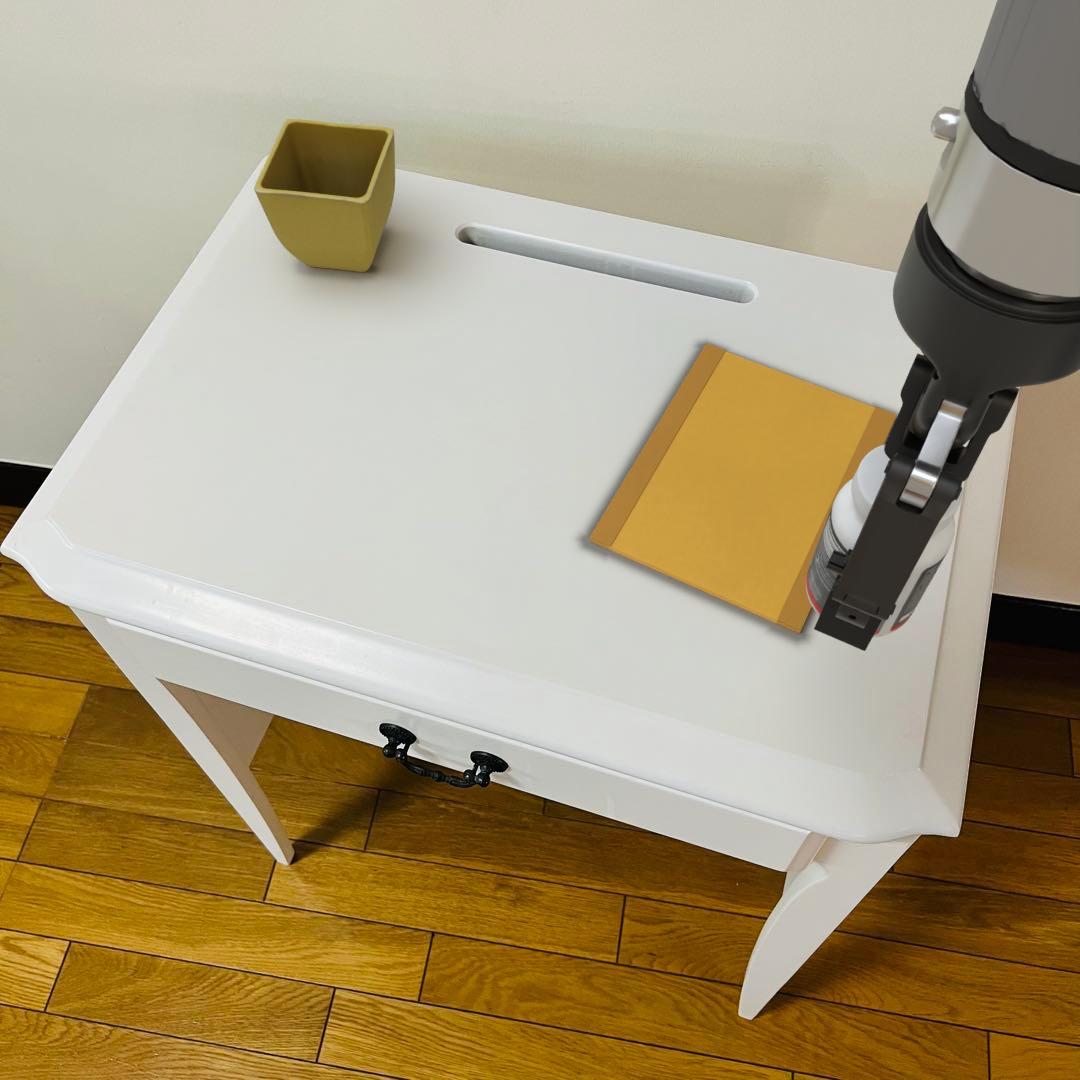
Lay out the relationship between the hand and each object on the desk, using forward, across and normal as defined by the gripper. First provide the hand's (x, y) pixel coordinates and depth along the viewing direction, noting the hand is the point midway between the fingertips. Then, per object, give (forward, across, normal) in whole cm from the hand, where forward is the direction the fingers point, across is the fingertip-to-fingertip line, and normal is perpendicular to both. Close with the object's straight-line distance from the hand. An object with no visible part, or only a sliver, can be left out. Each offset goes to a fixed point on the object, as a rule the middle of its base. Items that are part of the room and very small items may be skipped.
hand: (862, 585), depth 54 cm
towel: (+12, -13, -10) cm, 20 cm away
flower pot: (+12, -19, -48) cm, 53 cm away
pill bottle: (+1, 0, 0) cm, 1 cm away
